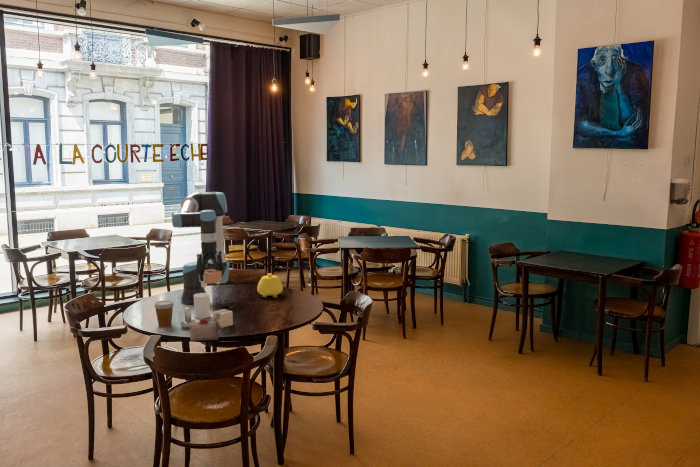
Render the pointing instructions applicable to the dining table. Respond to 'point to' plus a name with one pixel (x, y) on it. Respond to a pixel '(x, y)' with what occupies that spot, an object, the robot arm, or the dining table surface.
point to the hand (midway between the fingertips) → (210, 285)
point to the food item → (204, 330)
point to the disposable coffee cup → (164, 313)
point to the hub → (187, 319)
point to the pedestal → (223, 317)
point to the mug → (201, 305)
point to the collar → (212, 276)
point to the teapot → (269, 285)
